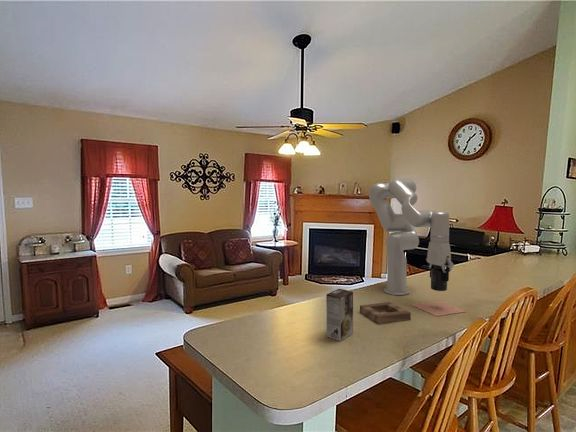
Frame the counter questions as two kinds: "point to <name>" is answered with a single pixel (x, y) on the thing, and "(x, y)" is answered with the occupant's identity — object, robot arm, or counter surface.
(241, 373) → the counter surface
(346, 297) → the coffee box
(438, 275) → the supplement bottle
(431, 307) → the terracotta mat
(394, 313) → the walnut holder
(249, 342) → the counter surface
